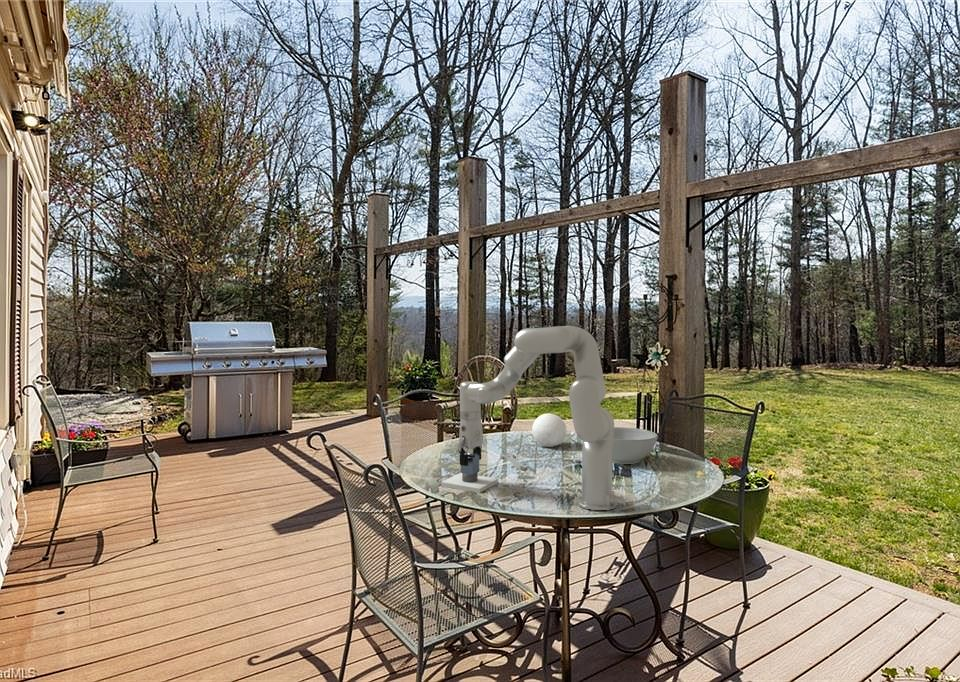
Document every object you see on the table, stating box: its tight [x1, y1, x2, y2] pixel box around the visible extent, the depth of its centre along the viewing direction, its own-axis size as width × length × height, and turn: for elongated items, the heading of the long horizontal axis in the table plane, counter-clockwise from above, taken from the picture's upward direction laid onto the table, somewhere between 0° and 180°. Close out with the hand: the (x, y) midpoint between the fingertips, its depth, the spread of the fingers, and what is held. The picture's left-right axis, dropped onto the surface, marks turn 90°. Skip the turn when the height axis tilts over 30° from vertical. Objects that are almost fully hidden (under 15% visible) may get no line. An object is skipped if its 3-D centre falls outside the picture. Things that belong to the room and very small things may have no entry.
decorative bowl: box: [612, 426, 659, 465], centre depth 233 cm, size 27×27×12 cm
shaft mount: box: [440, 472, 499, 494], centre depth 199 cm, size 16×14×10 cm
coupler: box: [460, 452, 480, 475], centre depth 198 cm, size 5×5×7 cm
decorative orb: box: [531, 412, 567, 448], centre depth 260 cm, size 20×18×16 cm
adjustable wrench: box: [499, 452, 527, 471], centre depth 230 cm, size 25×6×2 cm, turn 10°
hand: (470, 462), depth 198 cm, fingers open, 9 cm apart
